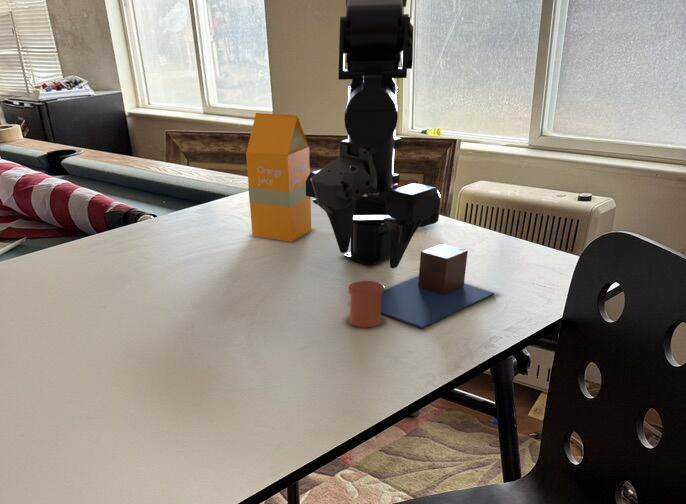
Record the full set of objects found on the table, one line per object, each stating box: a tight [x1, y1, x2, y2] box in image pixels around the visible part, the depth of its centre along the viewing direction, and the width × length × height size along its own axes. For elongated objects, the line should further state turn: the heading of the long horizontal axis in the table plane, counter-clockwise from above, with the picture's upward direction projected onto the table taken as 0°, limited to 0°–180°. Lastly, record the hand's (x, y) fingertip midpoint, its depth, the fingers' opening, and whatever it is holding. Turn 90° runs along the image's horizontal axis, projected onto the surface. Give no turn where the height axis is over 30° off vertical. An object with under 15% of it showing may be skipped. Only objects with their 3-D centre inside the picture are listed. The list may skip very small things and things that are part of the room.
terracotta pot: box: [347, 280, 385, 329], centre depth 97 cm, size 5×5×5 cm
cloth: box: [381, 275, 495, 330], centre depth 104 cm, size 13×17×1 cm
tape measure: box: [418, 211, 440, 228], centre depth 132 cm, size 7×7×4 cm
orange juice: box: [245, 112, 312, 243], centre depth 126 cm, size 8×9×20 cm
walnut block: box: [418, 243, 469, 295], centre depth 106 cm, size 5×5×6 cm
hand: (368, 259), depth 94 cm, fingers open, 9 cm apart
